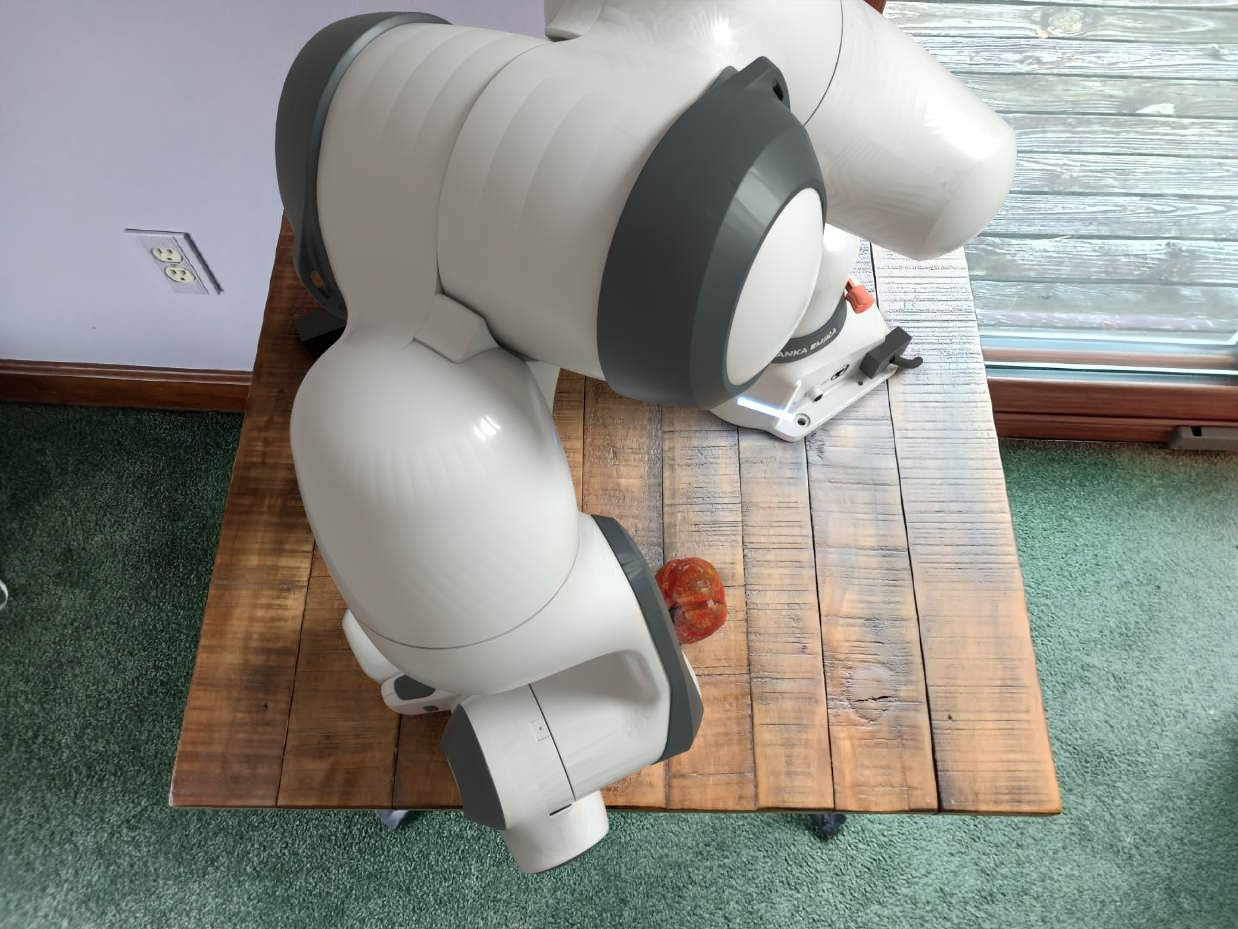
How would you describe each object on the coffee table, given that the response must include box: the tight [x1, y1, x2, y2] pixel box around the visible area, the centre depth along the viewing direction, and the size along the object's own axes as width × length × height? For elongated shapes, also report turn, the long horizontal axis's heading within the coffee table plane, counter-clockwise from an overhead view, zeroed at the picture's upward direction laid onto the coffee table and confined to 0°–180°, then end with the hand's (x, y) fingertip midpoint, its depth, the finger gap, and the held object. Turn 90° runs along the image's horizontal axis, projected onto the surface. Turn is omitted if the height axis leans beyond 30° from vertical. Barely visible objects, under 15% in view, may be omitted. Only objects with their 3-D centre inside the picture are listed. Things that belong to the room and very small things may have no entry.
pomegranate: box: [654, 556, 728, 645], centre depth 72 cm, size 7×7×10 cm
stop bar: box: [293, 301, 347, 360], centre depth 86 cm, size 12×3×4 cm, turn 115°
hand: (435, 522), depth 72 cm, fingers closed
